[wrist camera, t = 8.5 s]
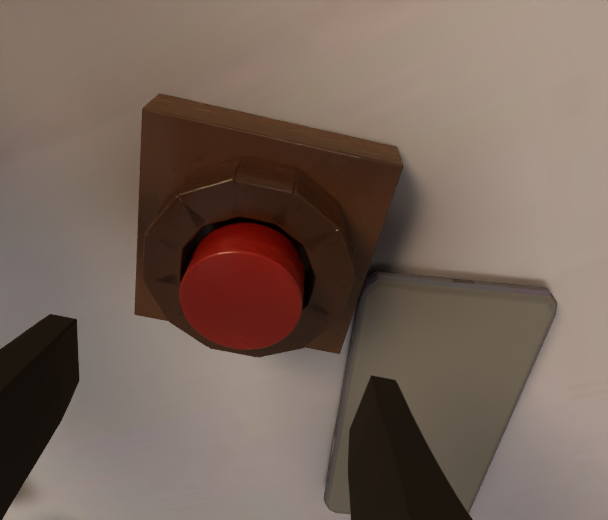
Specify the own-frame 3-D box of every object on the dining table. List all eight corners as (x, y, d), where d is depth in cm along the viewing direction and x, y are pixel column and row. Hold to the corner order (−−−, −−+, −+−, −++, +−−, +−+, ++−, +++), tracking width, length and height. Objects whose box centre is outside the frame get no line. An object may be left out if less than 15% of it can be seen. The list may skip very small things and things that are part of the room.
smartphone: (567, 297, 19) (465, 528, 27) (557, 282, 19) (461, 510, 27) (363, 277, 19) (321, 514, 27) (361, 263, 19) (322, 497, 27)
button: (198, 209, 15) (183, 239, 14) (316, 234, 15) (314, 266, 14) (187, 303, 17) (174, 338, 15) (293, 324, 17) (289, 360, 16)
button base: (158, 93, 16) (119, 127, 13) (397, 146, 17) (411, 190, 14) (147, 288, 21) (116, 347, 18) (339, 326, 21) (340, 389, 18)
